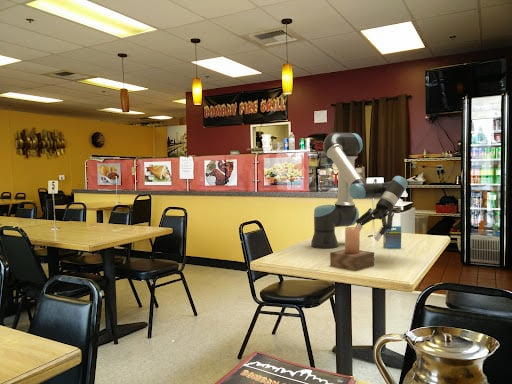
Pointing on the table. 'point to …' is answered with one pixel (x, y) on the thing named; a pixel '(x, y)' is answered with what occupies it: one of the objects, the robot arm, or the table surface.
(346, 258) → the walnut block
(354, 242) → the terracotta canister
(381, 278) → the table surface
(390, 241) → the label tape box
